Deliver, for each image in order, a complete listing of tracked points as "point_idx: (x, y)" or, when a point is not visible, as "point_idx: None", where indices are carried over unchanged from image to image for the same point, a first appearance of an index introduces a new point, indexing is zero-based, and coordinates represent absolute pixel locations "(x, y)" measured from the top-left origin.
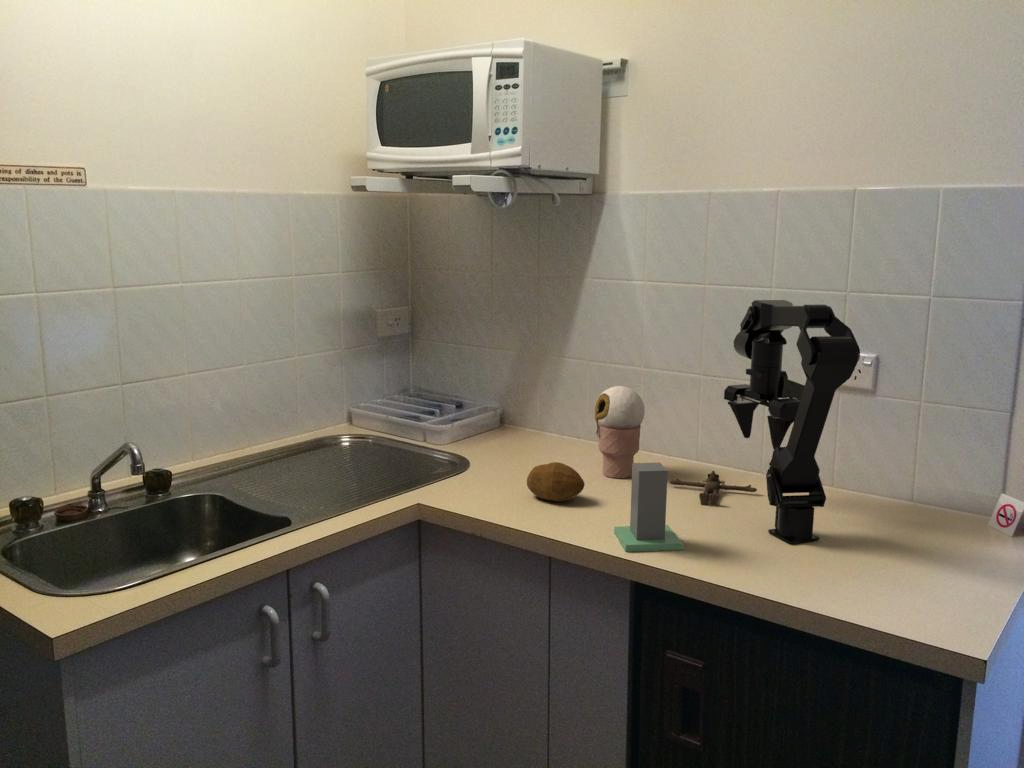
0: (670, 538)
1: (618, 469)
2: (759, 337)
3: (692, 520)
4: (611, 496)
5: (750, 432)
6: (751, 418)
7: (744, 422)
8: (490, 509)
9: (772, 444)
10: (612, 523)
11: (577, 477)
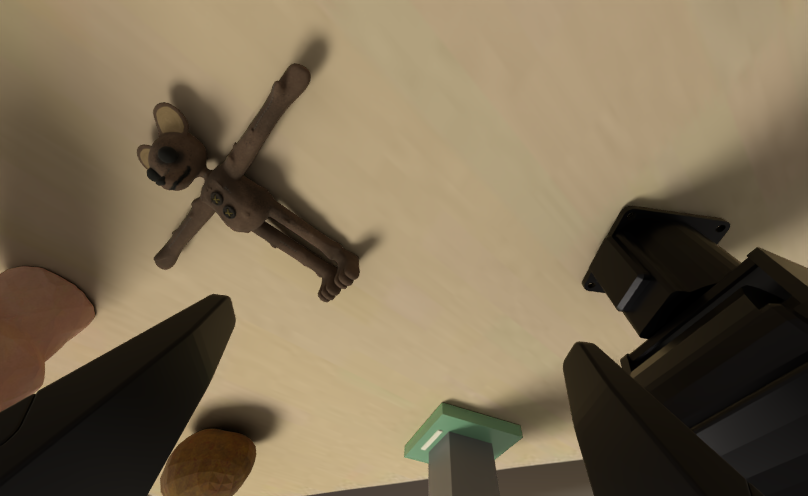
0: (494, 438)
1: (74, 332)
2: None
3: (417, 348)
4: (227, 376)
5: (204, 322)
6: (65, 448)
7: (145, 456)
8: (254, 485)
9: (574, 407)
10: (366, 431)
11: (233, 478)
